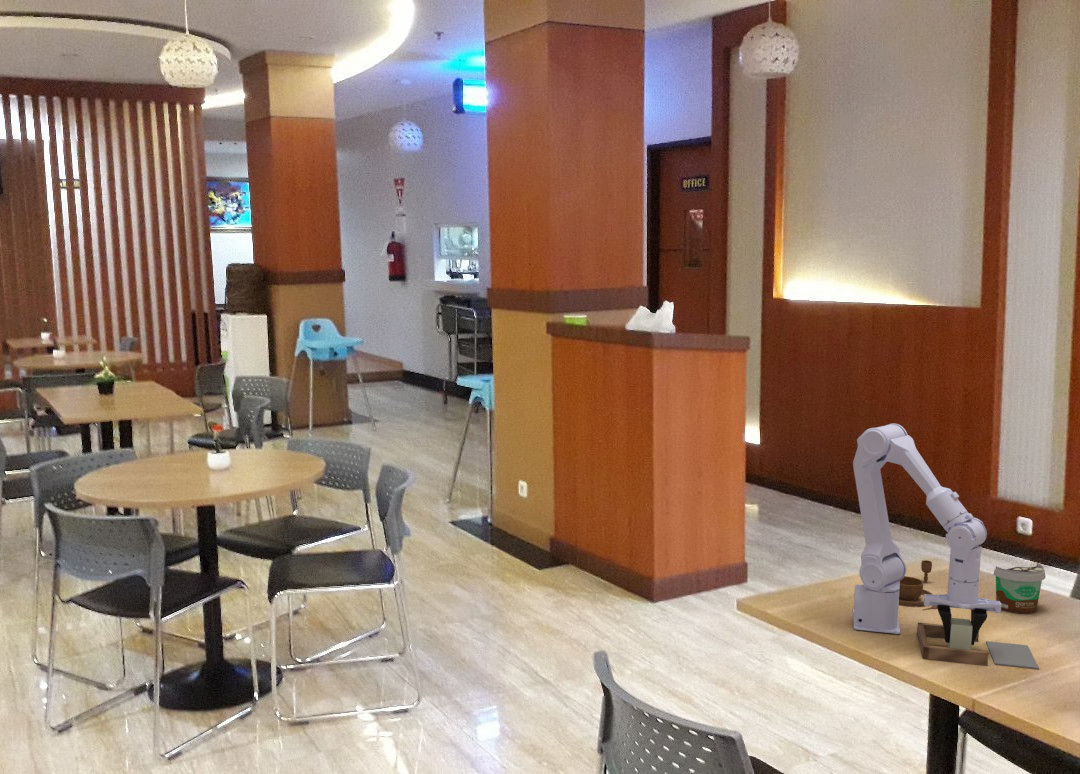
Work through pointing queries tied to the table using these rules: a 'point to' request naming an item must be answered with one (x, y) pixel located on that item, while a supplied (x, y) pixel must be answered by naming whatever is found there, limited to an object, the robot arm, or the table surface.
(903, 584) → the place setting
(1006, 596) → the food container
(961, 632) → the sage block
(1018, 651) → the mat
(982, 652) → the open side box
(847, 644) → the table surface
